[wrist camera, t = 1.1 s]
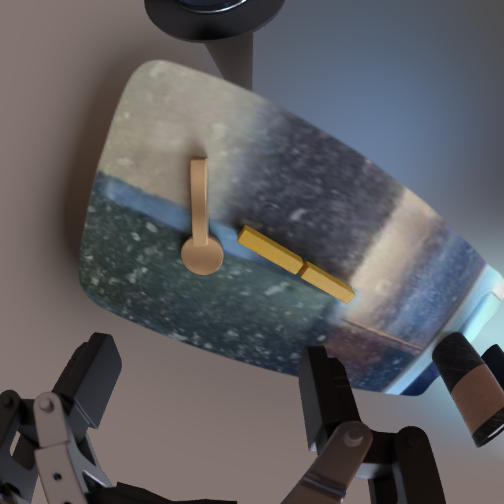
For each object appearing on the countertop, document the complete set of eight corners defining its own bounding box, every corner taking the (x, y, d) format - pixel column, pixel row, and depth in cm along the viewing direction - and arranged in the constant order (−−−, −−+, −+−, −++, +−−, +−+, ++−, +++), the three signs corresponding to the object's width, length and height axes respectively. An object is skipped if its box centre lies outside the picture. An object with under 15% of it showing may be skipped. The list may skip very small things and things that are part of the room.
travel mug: (424, 356, 37) (471, 449, 19) (455, 324, 34) (515, 412, 16) (440, 366, 39) (482, 447, 21) (468, 338, 36) (519, 416, 18)
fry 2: (298, 270, 30) (300, 277, 28) (306, 260, 29) (308, 266, 28) (344, 297, 31) (347, 304, 30) (352, 287, 31) (355, 294, 30)
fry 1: (237, 236, 28) (236, 241, 27) (245, 224, 28) (244, 229, 26) (293, 268, 30) (295, 275, 28) (301, 257, 29) (304, 264, 28)
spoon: (178, 158, 25) (174, 160, 23) (224, 157, 25) (222, 159, 23) (184, 269, 30) (181, 277, 28) (224, 271, 30) (222, 278, 28)
